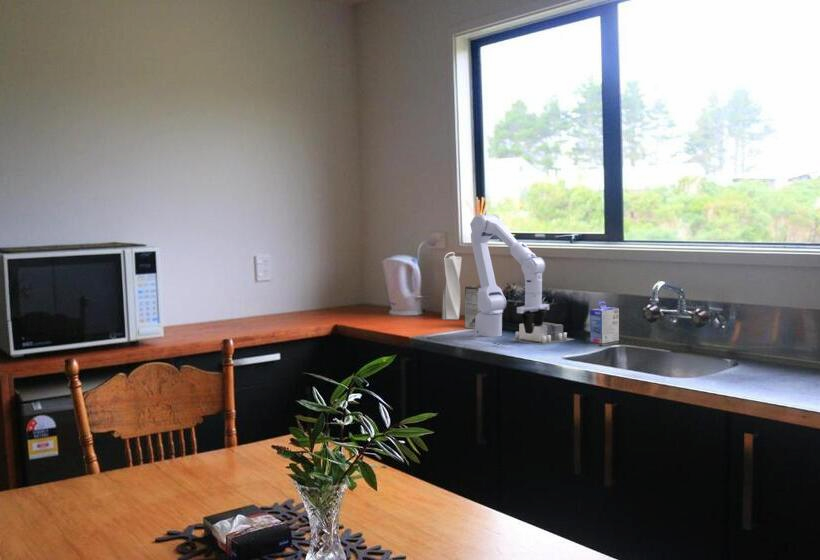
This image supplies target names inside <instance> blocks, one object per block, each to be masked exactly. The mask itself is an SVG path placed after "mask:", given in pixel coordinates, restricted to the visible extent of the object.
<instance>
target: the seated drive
mask: <svg viewBox="0 0 820 560" xmlns="http://www.w3.org/2000/svg"><path fill="white" fill-rule="evenodd" d="M542 325H545V326H547V335H551V340H558V333H562V339H563V333H564V325H563V324H561V323H559V324H558V323H552V322H544V321H543V324H542Z"/></svg>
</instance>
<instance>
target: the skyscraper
mask: <svg viewBox="0 0 820 560" xmlns="http://www.w3.org/2000/svg"><path fill="white" fill-rule="evenodd" d="M450 254H453V255H452V256H448V255H450ZM455 254H456V253H455V252H454V251H451V252H448V253H446V254H445V256H444V258H443V261H444V272H445V278H446V282H445V291H444V293H443V294H442V304H441V305H442V307H441V308H442V309H441V320H442V321H459V319H460V313H461V285H460V284H461V283H460V277H461V269H462V260H463V259H462V257H461V256H456V255H455ZM447 256H448V257H447Z"/></svg>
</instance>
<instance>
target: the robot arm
mask: <svg viewBox="0 0 820 560" xmlns="http://www.w3.org/2000/svg"><path fill="white" fill-rule="evenodd" d="M469 225H470V229H471V238H470V242H471V247H472V251H473V257H474V260H475V266H476V270H477V275H478V279H479V285H481V289H480V291H479V292H478V294H477V295H478V302H477V305H478V308H479V310H480V311H481V312H480V313H478V314H477V316H476V318H475V329H474V335H473V337H479V336H480V337H481V336H483V337H489V338H490V337H491V338H495V337H502V336H503V334H502V333H503V330H502V329H503V313H504V310H505V308H506V307H507V299H506V297H505V295H504V293H503V290H502V288H501V287H499V286H498V285H497V282H496V278H495V272H494V269H493V264H492V259H491V254H490V251H489V246H488V242H489V240H490V239H491V238H492V237H493V236H497V237H498V239H500V240H501V241H502V242H503V243H504V244H505V245H506V246H508V248H509V249H510V253H509V254H511V256H512V257H513V258H514V259H515V260H516V262H517V263H519V265H520V266H521V271H522V273H523V276H524V281H525V282H524V305H521V306H517V307H516V313H517V314H518V315H519V317H520V319H521V321H522V324H524V328H525V332H526V333H529V334H531V333H532V324H538V325H542V324H543V322H544V321H545V318H546V317H547V315H548V311H549V310H550V304H548V303H543V301H542V300H543V273H544V272H545V271H546V262H545V260H544V259H543V257H541V256H536V254H535V253H534V252H532V250H531V249H530V248H529V247H528V244H527V242H526V243H525V242H521V241H518V240H517V239H516V238H515V236H513V234H512V233H511V232H510V230H509V229H508V228H507V227H506V226H505V223H504V220H502V219H501V218H500V216H499V215H497V214H488V215H487V214H476V215H475V216H474V217H473V218H472V220H471V222H470V224H469ZM489 294H490V295H489Z"/></svg>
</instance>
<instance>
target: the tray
mask: <svg viewBox="0 0 820 560" xmlns="http://www.w3.org/2000/svg"><path fill="white" fill-rule="evenodd" d="M567 335H568V332H564V331H563V339H562V333H558V340H551V335H547V340H546V336H542V341H541V342H538V341H532V340H526V339H520V338H519V331H515V338H510V339H507V340H508V341H513V342H517V343H518V342H520V343H525V344H532V345H537V346H546V345H552V344H557V343H562V342H567V341H575V340H576V339H575V338H570V337H567Z"/></svg>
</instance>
